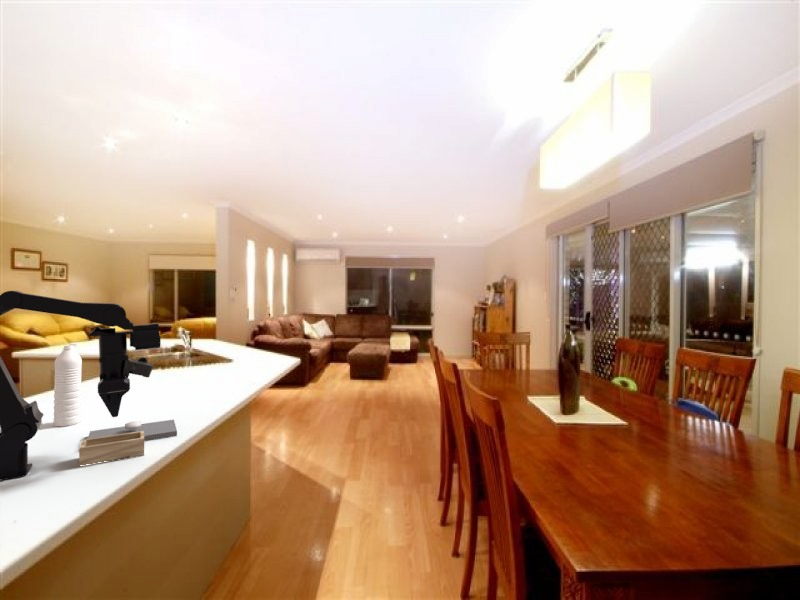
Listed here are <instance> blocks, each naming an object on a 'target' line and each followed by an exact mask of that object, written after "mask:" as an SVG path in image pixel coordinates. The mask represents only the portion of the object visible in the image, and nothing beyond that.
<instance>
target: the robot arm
mask: <svg viewBox="0 0 800 600" xmlns="http://www.w3.org/2000/svg"><path fill="white" fill-rule="evenodd" d="M15 309H17V310H24V311H25V310H26V311H30V312H31V311H34V312H40V313H46V314H54V315H59V316H60V315H61V316H66V317H67V316H69V317H73V318H80V319H83V320H85V321H89V322H91V323H96V324H99V325H102V326H106V327H107V328H101V327H100V326H99V325H96V326H95V328H94V329H93V330H92V331H91V332H89V334H88V336H89V337H98V354H99V356H98V357H99V358H98V362H99V381H98V383H97V394H98V396H99V397H100V399H101V400H102V402H103V403H104V405H105V407H106V408H107V411H108V413H109V414H110V415H111V417H112V418H117V417H119V413H120V408H121V404H122V403H121V402H122V398H123V397H124V396H125V394H127V393H128V392H129V391H130V390H131V382H130V378H129V377H130V374H131V375H136V376H142V377H143V378H150V376H151V374H152V371H153V368H154V364H153V363H151V362H148V359H147V357H143V356H140V357H138V358H137V359H130V358H129V357H130V356H129V354H128V346H127V345H128V343H127V342H128V341H127V340H128V339H127V335H129V348H134V350H135V351H142V350H154V349H160V348H161V335H160V327H159V323H158V322H155V323H149V324H134V322H133V321H130V319H129V318H128V317H127V312H126V310H125V308H124V307H123V305H121V304H119V303H115V302H114V303H113V302H80V301H74V300H68V299H62V298H56V297H52V296H51V297H48V296H43V295H38V294H37V295H36V294H32V293H24V292H22V291H20V290H19V291H18V290H8V291H4V292H2V293H1V294H0V316H3V315H5V314H7V313H8V312H10V311H12V310H15ZM116 327H117V328H120V329H122V330H121V331H116ZM43 416H44V413H43V412H41V409H39V406H38V402H37V400H33V401H32V402H30V403H29V402H28V401H26V400H25V399H24V397H22V395H21V393H20V392H19V389H18V387H17V386H16V383H15V382H14V380H13V377H12V376H11V374H10V372H9V370H8V368H7V367H6V364H5V363H4V360H3V358H2V357H1V355H0V481H4V480H10V479H15V478H21V477H25V476H27V475H28V473H29V472H30V470H31V468H32V467H33V463H28V457H29V455H28V454H29V453H28V452H29V444H28V443H27V441H30V440H32V438H34V437H35V436H36V434H37V432H38V431H39V429H40V427H41V424H42V423H43V422H42V418H43Z"/></svg>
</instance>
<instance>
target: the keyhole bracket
mask: <svg viewBox="0 0 800 600" xmlns="http://www.w3.org/2000/svg"><path fill="white" fill-rule="evenodd" d="M78 453H79V454H78V456H79V457H78V463H79V464H78V467H79V466H80V465H86V464H93V463H98V462H104V461H110V462H113V461H112V460H116V461H119V460H118V459H122V460H125V459H124V458H127V459H131V458H130V457H133V458H137V457H136V456H138V457H143V455H144V456H145V441H144V431H138V432H131V433H125V434H118V435H111V436H104V437H98V438H91V439H88V438H86V439H85V438H84V439H82V440H81V443H80V446H79V451H78Z"/></svg>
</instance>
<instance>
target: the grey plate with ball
mask: <svg viewBox="0 0 800 600" xmlns="http://www.w3.org/2000/svg"><path fill="white" fill-rule="evenodd" d="M138 431H144V442H147V441H148V442H149V441H153V440H154V439H155V440H161V439H165V438H172V437H177V436H178V430H177V426H176V423H175V419H167V420H161V421H160V420H159V421H154V422H148V423H147V422H146V423H142V421H136V420H135V421H130V422H127V423H125V424H124V426H119V427H118V426H117V427H110V428H104V429H103V428H102V429H97V430H96V429H95V430H90V431H89V433H88V435H87V436H88V437H87V439H91V438H98V437H104V436H111V435H118V434H125V433H131V432H138Z"/></svg>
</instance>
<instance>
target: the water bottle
mask: <svg viewBox="0 0 800 600" xmlns="http://www.w3.org/2000/svg"><path fill="white" fill-rule="evenodd" d="M80 346H81V345H80V342H71V343H70V342H69V344H64V345H63V348H62V349H63V350H61V353H59V355H58V356H57V357H56V358H55V359H54V383H53V384H54V386H53V388H54V389H53V391H54V394H53V398H54V400H53V404H54V405H53V410H54V411H53V426H54V427H57V428H58V427H67V426H68V427H69V426H73V425H77V424H79V423H80V422H81V420H82V414H81V412H82V408H81V407H82V367H83V365H82V364H83V362H82V361H83V359H82V357H81V356H80V354H79V353H78V352H77V351H76V350H75V347H80Z"/></svg>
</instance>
